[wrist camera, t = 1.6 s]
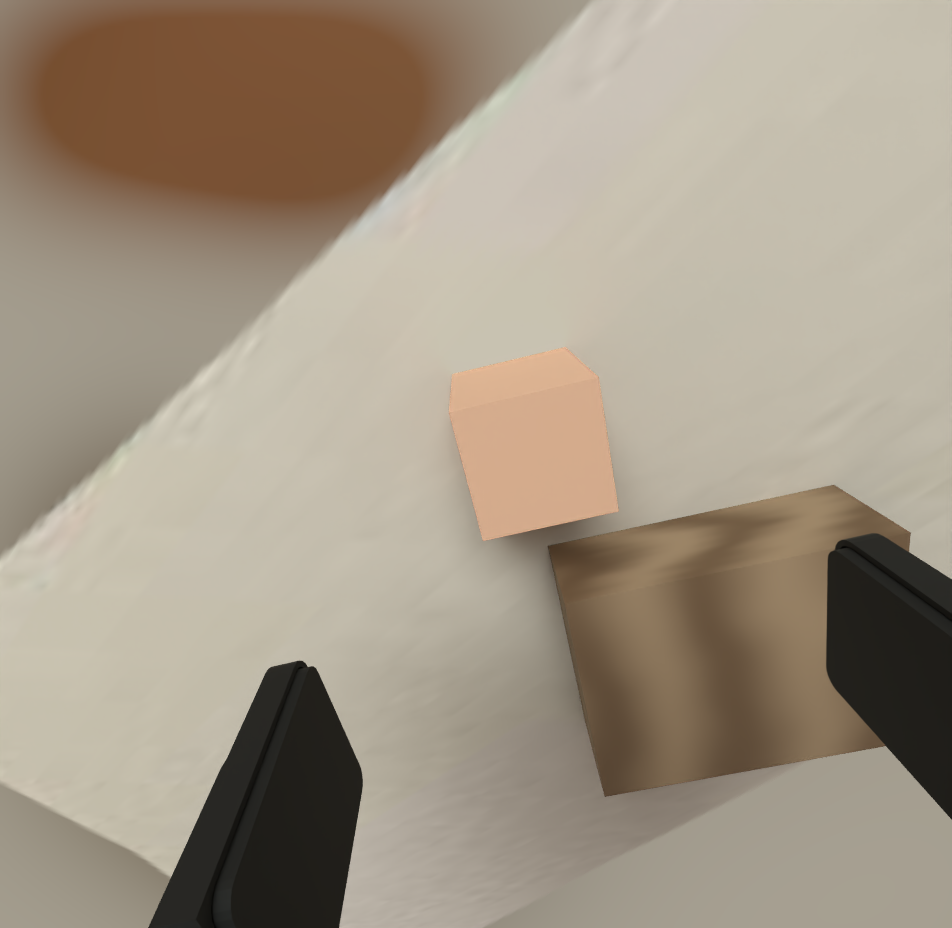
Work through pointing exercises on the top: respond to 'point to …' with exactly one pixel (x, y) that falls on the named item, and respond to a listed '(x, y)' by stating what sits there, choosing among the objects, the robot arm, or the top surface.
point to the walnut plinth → (711, 639)
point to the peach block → (533, 443)
